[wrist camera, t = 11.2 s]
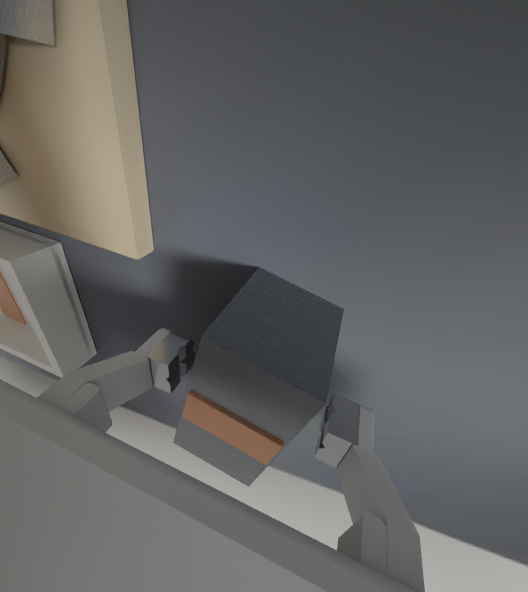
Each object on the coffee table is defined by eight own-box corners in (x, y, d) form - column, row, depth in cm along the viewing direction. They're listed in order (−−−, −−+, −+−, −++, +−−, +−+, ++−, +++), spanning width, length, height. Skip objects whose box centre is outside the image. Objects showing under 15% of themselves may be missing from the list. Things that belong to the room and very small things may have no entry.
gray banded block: (344, 307, 10) (324, 407, 7) (280, 399, 14) (247, 489, 11) (260, 265, 10) (198, 339, 7) (222, 367, 15) (171, 444, 11)
